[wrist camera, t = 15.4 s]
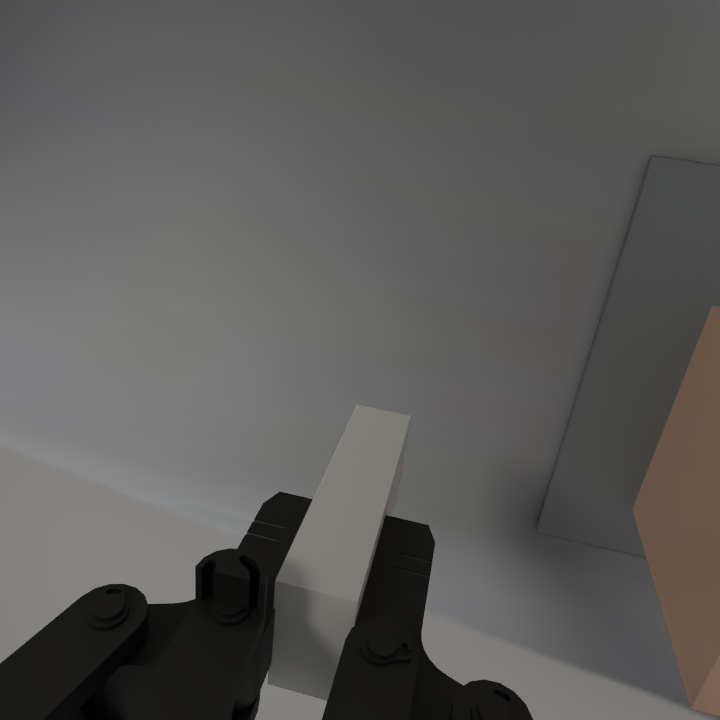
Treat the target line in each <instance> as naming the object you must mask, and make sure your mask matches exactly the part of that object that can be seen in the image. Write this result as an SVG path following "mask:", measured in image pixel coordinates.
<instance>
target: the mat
mask: <svg viewBox="0 0 720 720" xmlns="http://www.w3.org/2000/svg"><path fill="white" fill-rule="evenodd" d="M712 306H718V307H720V165H714V164H706V163H699V162H692V161H685V160H678V159H671V158H664V157H657V156H650V159H649V162H648V165H647V169H646V172H645V175H644V178H643V182H642V185H641V188H640V191H639V194H638V198H637V201H636V204H635V207H634V211H633V214H632V217H631V220H630V224H629V227H628V230H627V233H626V237H625V240H624V243H623V246H622V250H621V253H620V256H619V259H618V263H617V266H616V269H615V272H614V276H613V279H612V282H611V285H610V288H609V292H608V295H607V298H606V301H605V305H604V308H603V311H602V314H601V318H600V321H599V324H598V327H597V331H596V334H595V337H594V340H593V344H592V347H591V350H590V353H589V357H588V360H587V363H586V366H585V370H584V373H583V376H582V379H581V382H580V386H579V389H578V392H577V395H576V399H575V402H574V405H573V408H572V412H571V415H570V418H569V421H568V425H567V428H566V431H565V434H564V438H563V441H562V444H561V447H560V451H559V454H558V457H557V460H556V463H555V467H554V470H553V473H552V476H551V480H550V483H549V486H548V489H547V493H546V496H545V499H544V502H543V506H542V509H541V512H540V515H539V519H538V522H537V525H536V532H538V533H542V534H546V535H551V536H555V537H559V538H564V539H568V540H572V541H577V542H581V543H585V544H590V545H594V546H598V547H603V548H607V549H611V550H616V551H620V552H625V553H629V554H633V555H638V556H642V557H646V555H645V551H644V548H643V544H642V541H641V537H640V534H639V531H638V527H637V524H636V520H635V517H634V513H633V510H632V509H633V506H634V504H635V501H636V498H637V496H638V493H639V491H640V488H641V486H642V483H643V481H644V478H645V475H646V473H647V470H648V468H649V465H650V463H651V460H652V458H653V455H654V452H655V450H656V447H657V445H658V442H659V440H660V437H661V435H662V432H663V429H664V427H665V424H666V422H667V419H668V417H669V414H670V412H671V409H672V406H673V404H674V401H675V399H676V396H677V394H678V391H679V388H680V386H681V383H682V381H683V378H684V376H685V373H686V371H687V368H688V365H689V363H690V360H691V358H692V355H693V353H694V350H695V348H696V345H697V342H698V340H699V337H700V335H701V332H702V330H703V327H704V325H705V322H706V319H707V317H708V314H709V312H710V309H711V307H712Z"/></svg>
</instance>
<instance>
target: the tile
mask: <svg viewBox="0 0 720 720" xmlns="http://www.w3.org/2000/svg"><path fill="white" fill-rule="evenodd" d="M632 510H633V513H634V517H635V520H636V524H637V527H638V531H639V534H640V537H641V541H642V544H643V548H644V551H645V555H646V558H647V562H648V565H649V568H650V572H651V575H652V579H653V582H654V586H655V589H656V593H657V596H658V599H659V603H660V606H661V610H662V613H663V617H664V620H665V624H666V627H667V630H668V634H669V637H670V641H671V644H672V648H673V651H674V655H675V658H676V661H677V665H678V668H679V672H680V675H681V679H682V682H683V686H684V689H685V692H686V696H687V699H688V703H689V706H690V709H692V710H696V711H700V712H704V713H708V714H711V715H715V716H719V717H720V307H718V306H712V307H711V309H710V312H709V314H708V317H707V319H706V322H705V325H704V327H703V330H702V332H701V335H700V337H699V340H698V342H697V345H696V348H695V350H694V353H693V355H692V358H691V360H690V363H689V365H688V368H687V371H686V373H685V376H684V378H683V381H682V383H681V386H680V388H679V391H678V394H677V396H676V399H675V401H674V404H673V406H672V409H671V412H670V414H669V417H668V419H667V422H666V424H665V427H664V429H663V432H662V435H661V437H660V440H659V442H658V445H657V447H656V450H655V452H654V455H653V458H652V460H651V463H650V465H649V468H648V470H647V473H646V475H645V478H644V481H643V483H642V486H641V488H640V491H639V493H638V496H637V498H636V501H635V504H634V506H633V509H632Z"/></svg>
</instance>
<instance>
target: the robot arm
mask: <svg viewBox="0 0 720 720" xmlns="http://www.w3.org/2000/svg"><path fill="white" fill-rule="evenodd" d="M410 419H411V416H409V415H405V414H400V413H395V412H390V411H386V410H381V409H376V408H371V407H367V406H362V405H356V407H355V409H354V411H353V413H352V415H351V418H350V420H349V422H348V424H347V426H346V428H345V431H344V433H343V435H342V437H341V439H340V441H339V444H338V446H337V448H336V450H335V452H334V454H333V457H332V459H331V461H330V463H329V465H328V467H327V470H326V472H325V474H324V476H323V478H322V480H321V483H320V485H319V487H318V489H317V491H316V493H315V496H314V498H313V499H309V498H305V497H300V496H296V495H292V494H288V493H283V492H279V493H277V494H276V495H274V496H273V497H272V498H270V499H269V500H267V501H266V502H265V503H263V505H262V507H261V509H260V510H259V512H258V514H257V515H256V517H255V520H254V522H252V524H251V526H250V528H249V529H248V531H247V535H245V536H244V538H243V540H242V542H241V543H240V545H239V547H238V549H225V550H220V551H216V552H214V553H212V554H210V555H208V556H206V557H204V558H203V559H202V560H201V561H200V562H199V563H198V564H197V565H196V599H194V600H191V601H188V602H183V603H174V604H147V601H146V598H145V596H144V594H143V593H141V592H140V591H139V590H138V589H137V588H135V587H132V586H128V585H125V584H109V585H105V586H102V587H99V588H95V589H93V590H92V591H90V592H88V593H87V594H85V595H83V596H82V597H80V598H79V599H78V600H77V601H76V602H74V603H73V604H72V605H71V606H70V607H68V608H67V609H66V610H65V611H64V612H62V613H61V614H60V615H59V616H57V617H56V618H55V619H54V620H53V621H51V622H50V623H49V624H48V625H47V626H45V627H44V628H43V629H42V630H40V631H39V632H38V633H37V634H36V635H34V636H33V637H32V638H31V639H30V640H28V641H27V642H26V643H25V644H24V645H22V646H21V647H20V648H19V649H17V650H16V651H15V652H14V653H13V654H11V655H10V656H9V657H8V658H7V659H5V660H4V661H3V662H2V663H1V664H0V720H254V719H255V717H256V714H257V712H258V706H259V700H260V689H261V687H262V684H263V682H264V679H265V677H266V674H267V672H268V670H269V673H268V674H269V675H268V684H271V685H274V686H278V687H281V688H285V689H288V690H292V691H296V692H299V693H302V694H306V695H310V696H313V697H316V698H320V699H323V700H327V704H326V708H325V711H324V714H323V718H322V720H533V718H532V717H531V714H530V712H529V710H528V708H527V706H526V704H525V703H524V702H523V701H522V700H521V699H520V698H519V697H518V695H516V693H515V692H514V691H512V690H510V689H509V688H507V687H505V686H504V685H502V684H500V683H497V682H492V681H488V680H479V681H471V682H469V683H467V684H466V685H464V686H463V685H462V684H460V683H458V682H456V681H455V680H453V679H452V678H450V677H448V676H447V675H446V674H444V673H443V672H442V671H440V670H439V669H438V668H437V667H436V666H435V665H434V664H433V663H432V662H431V661H430V660H429V658H428V656H427V654H426V653H425V651H424V648H423V645H422V641H421V630H422V624H423V617H424V611H425V604H426V598H427V591H428V585H429V578H430V572H431V566H432V559H433V553H434V546H435V541H434V539H433V536H432V533H431V531H430V528H429V526H428V525H425V524H421V523H417V522H413V521H408V520H404V519H400V518H396V517H392V513H393V510H394V506H395V502H396V498H397V493H398V487H399V482H400V476H401V470H402V464H403V459H404V453H405V447H406V442H407V436H408V430H409V425H410Z"/></svg>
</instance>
